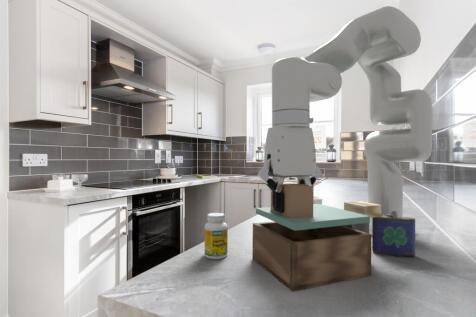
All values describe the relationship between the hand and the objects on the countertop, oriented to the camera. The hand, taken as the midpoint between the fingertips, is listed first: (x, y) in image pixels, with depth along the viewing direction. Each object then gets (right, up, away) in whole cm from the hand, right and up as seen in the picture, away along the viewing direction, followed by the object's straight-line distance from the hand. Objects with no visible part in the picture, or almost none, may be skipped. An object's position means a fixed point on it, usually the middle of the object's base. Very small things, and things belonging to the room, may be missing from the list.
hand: (291, 209), depth 55 cm
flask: (+26, -13, +9) cm, 31 cm away
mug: (+11, -13, +31) cm, 35 cm away
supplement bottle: (-16, -12, +7) cm, 21 cm away
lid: (+4, -2, +2) cm, 5 cm away
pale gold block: (+18, -3, +7) cm, 19 cm away
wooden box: (+6, -12, +2) cm, 14 cm away
